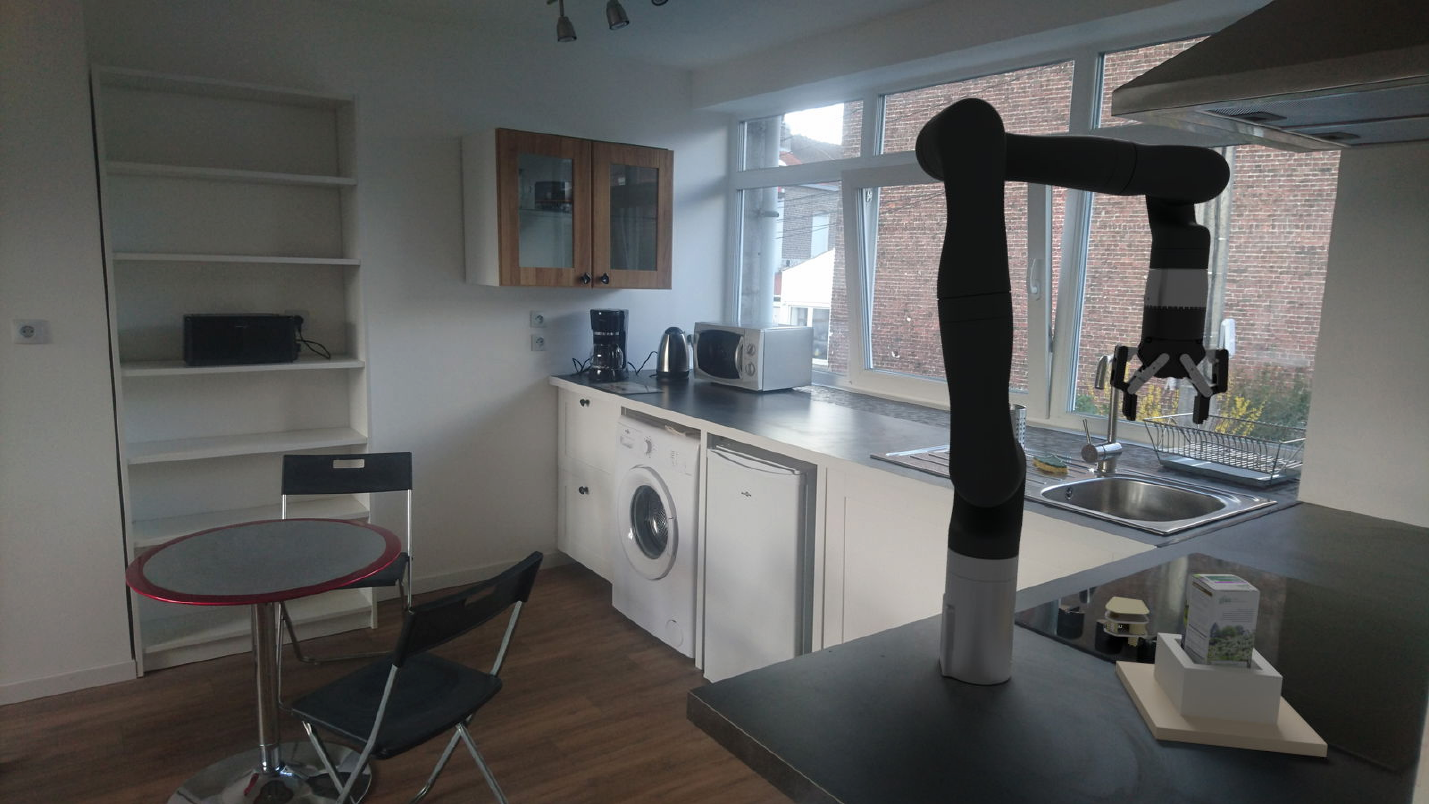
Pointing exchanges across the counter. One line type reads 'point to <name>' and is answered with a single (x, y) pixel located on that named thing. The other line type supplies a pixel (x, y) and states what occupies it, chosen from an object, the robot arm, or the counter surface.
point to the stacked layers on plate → (1126, 618)
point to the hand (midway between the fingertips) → (1164, 421)
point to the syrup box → (1220, 620)
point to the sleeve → (1216, 702)
